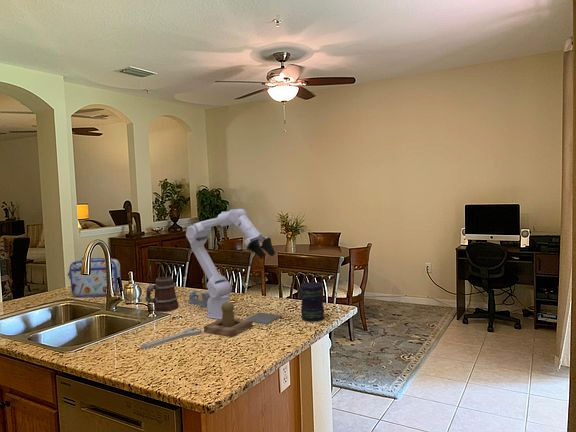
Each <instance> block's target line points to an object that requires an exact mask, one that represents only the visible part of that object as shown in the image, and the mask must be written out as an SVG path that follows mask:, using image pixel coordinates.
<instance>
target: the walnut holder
mask: <svg viewBox="0 0 576 432" xmlns="http://www.w3.org/2000/svg"><path fill="white" fill-rule="evenodd" d="M244 319H245V318H237V317H236V318H235V317H234V320H235V325H234V326H232V327H224V326H222V318H221V319H216V320H214V321H212V322H210V323H208V324H206V325H203V333H207V334H210V335H211V334H212V335H217V336H222V337H228V338H234V337H236V336H237V335H239V334H241V333H243V332H245V331H248V330H249V329H250V328H253V322H252V321H250V320H244Z"/></svg>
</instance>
